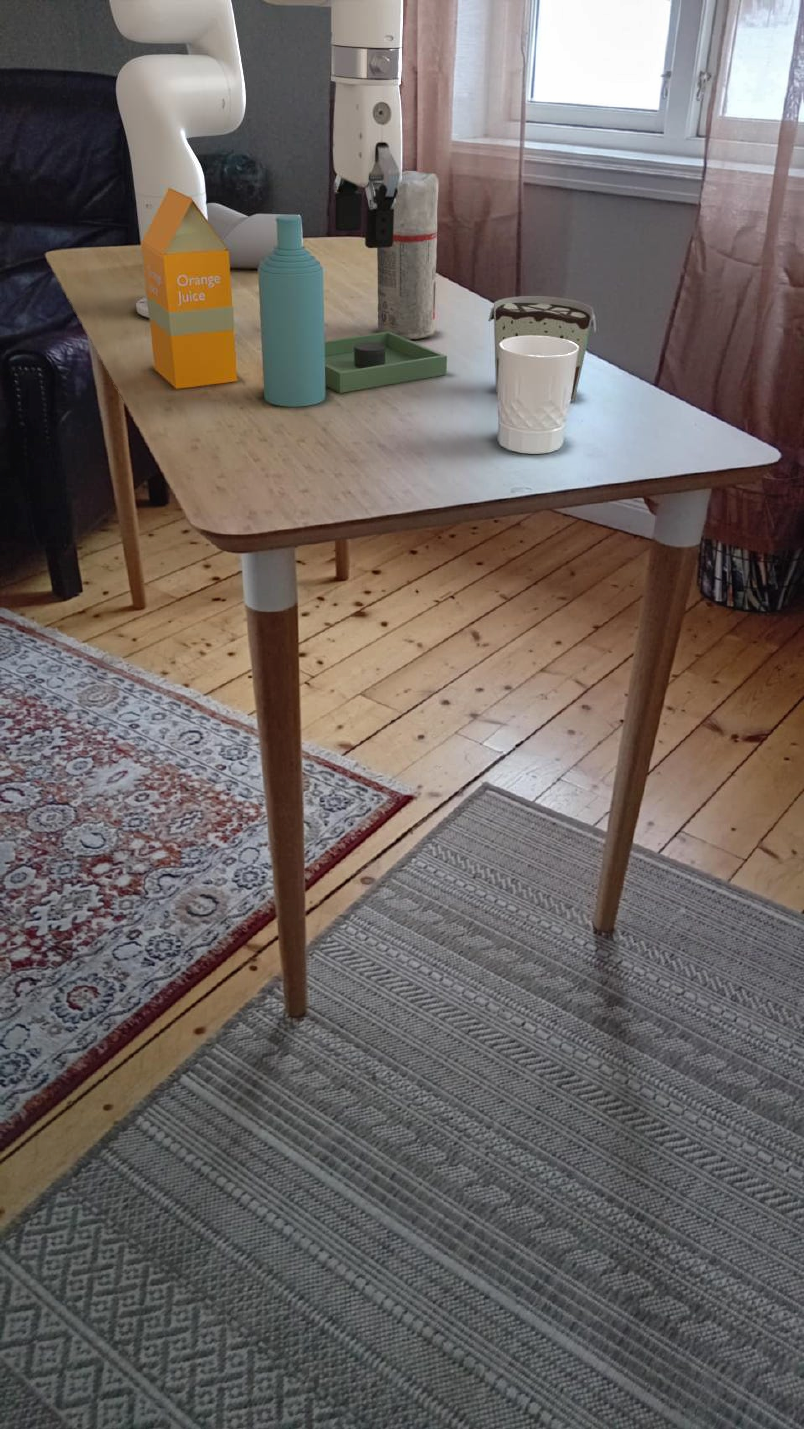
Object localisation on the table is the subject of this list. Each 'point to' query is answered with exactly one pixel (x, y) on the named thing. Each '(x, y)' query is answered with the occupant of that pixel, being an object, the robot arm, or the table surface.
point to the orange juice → (188, 296)
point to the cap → (369, 354)
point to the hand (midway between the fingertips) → (363, 238)
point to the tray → (400, 365)
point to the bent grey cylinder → (244, 234)
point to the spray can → (410, 260)
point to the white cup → (534, 392)
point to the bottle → (292, 320)
